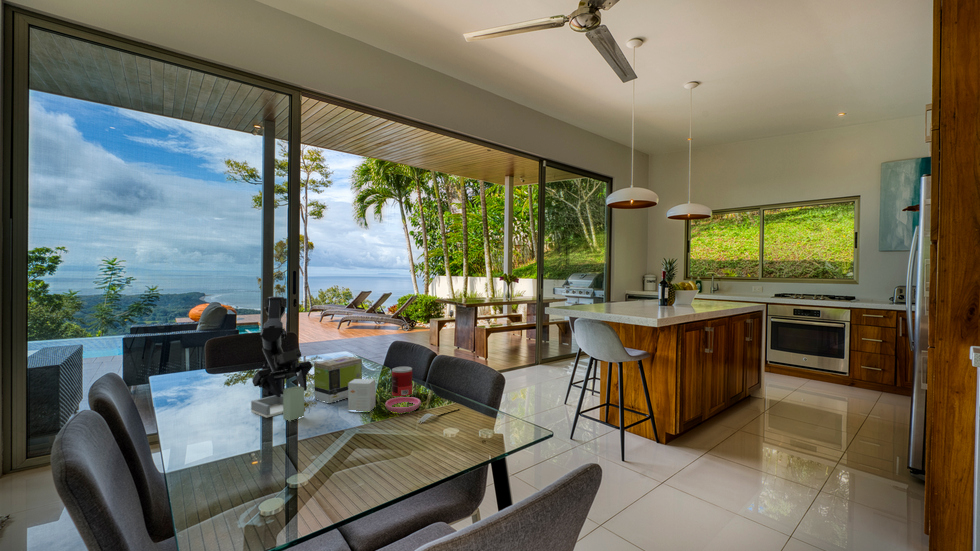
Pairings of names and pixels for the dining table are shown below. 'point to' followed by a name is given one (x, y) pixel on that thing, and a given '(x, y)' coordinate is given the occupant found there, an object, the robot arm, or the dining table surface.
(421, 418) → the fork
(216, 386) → the dining table surface
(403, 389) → the canned food
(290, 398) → the green block
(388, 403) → the pink shallow round dish
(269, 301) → the robot arm
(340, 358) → the tea box
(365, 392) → the small box
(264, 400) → the keeper bay
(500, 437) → the dining table surface
